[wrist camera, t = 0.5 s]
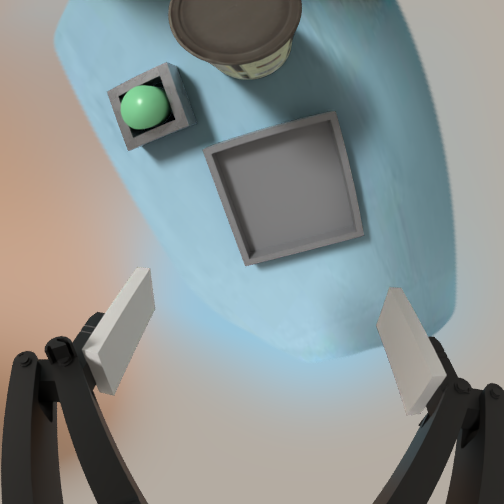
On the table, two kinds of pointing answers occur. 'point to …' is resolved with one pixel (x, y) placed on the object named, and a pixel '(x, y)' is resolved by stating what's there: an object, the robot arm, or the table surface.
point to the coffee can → (237, 33)
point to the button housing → (175, 96)
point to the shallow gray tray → (286, 188)
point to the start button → (145, 107)
